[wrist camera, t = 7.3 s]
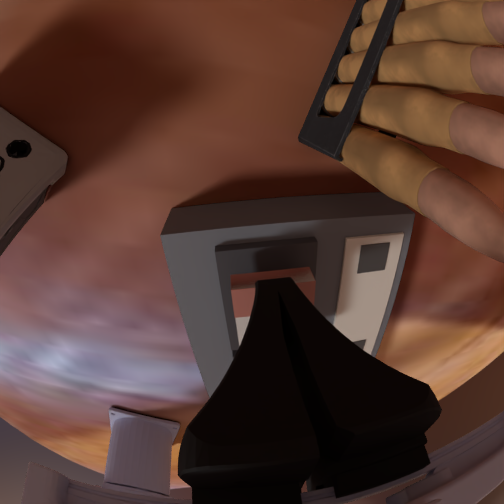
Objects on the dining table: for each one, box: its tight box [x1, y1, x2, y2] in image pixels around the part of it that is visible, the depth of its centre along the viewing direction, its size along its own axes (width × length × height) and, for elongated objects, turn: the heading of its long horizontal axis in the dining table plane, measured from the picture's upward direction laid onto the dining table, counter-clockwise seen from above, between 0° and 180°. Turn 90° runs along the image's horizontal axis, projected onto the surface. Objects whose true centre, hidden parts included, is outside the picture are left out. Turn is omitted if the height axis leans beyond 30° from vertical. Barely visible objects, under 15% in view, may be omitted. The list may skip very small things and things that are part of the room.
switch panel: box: [160, 192, 415, 398], centre depth 19 cm, size 22×12×4 cm, turn 4°
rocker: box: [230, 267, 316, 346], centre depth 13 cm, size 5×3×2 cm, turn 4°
